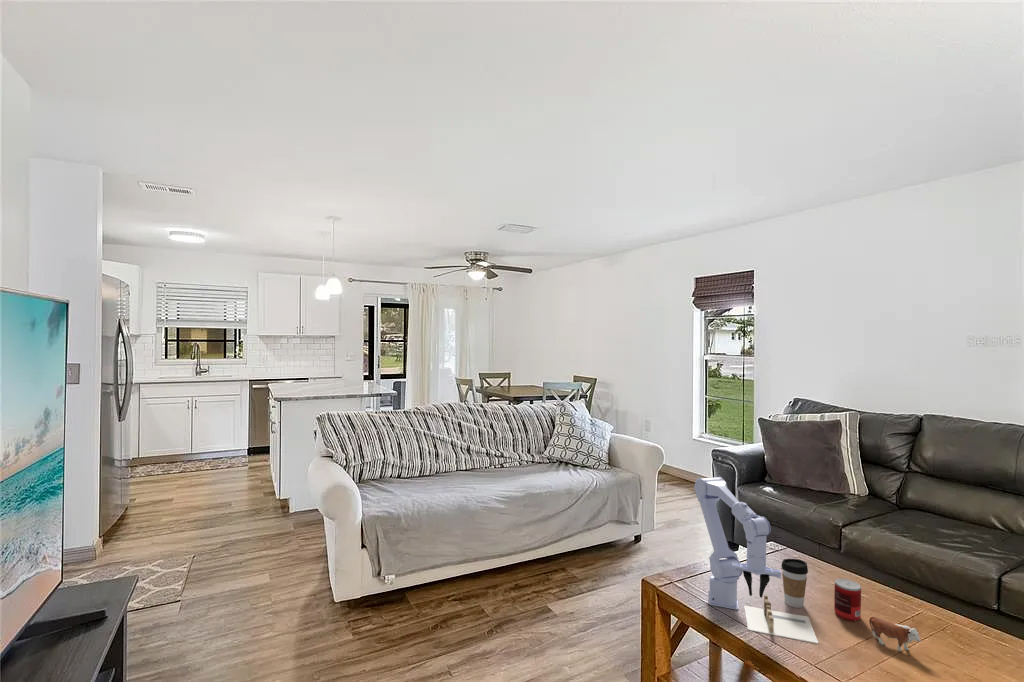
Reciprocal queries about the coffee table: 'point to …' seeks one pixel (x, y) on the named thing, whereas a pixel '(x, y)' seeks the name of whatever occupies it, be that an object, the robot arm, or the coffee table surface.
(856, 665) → the coffee table surface
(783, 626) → the card
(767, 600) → the wooden pieces
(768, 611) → the fence panel
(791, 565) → the coffee cup
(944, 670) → the coffee table surface
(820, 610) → the coffee table surface
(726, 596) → the robot arm
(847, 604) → the canned food
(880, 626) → the bull figurine
